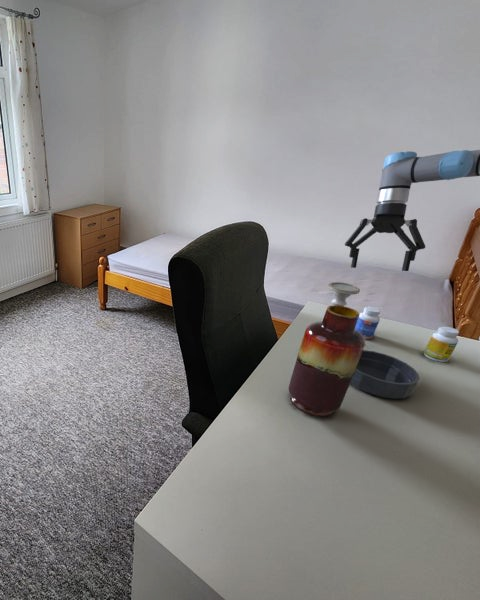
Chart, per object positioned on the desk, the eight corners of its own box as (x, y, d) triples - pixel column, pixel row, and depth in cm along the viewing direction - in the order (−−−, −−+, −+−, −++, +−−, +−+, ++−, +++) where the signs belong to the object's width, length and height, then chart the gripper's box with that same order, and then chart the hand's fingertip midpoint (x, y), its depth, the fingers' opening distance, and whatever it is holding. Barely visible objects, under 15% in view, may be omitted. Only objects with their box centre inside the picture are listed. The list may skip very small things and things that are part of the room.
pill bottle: (356, 338, 111) (366, 311, 107) (349, 330, 116) (358, 304, 112) (376, 340, 110) (386, 313, 106) (367, 331, 115) (377, 306, 111)
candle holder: (303, 337, 113) (320, 280, 104) (332, 338, 111) (352, 281, 103) (315, 351, 105) (335, 291, 96) (347, 353, 103) (369, 293, 95)
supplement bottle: (428, 350, 104) (441, 323, 100) (451, 359, 100) (466, 331, 96) (419, 355, 102) (432, 327, 98) (442, 364, 98) (457, 336, 94)
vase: (347, 423, 78) (388, 325, 67) (294, 417, 80) (326, 320, 69) (325, 392, 88) (358, 301, 77) (279, 387, 90) (305, 298, 79)
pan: (380, 364, 98) (387, 349, 96) (428, 400, 85) (436, 384, 82) (327, 364, 99) (332, 350, 97) (365, 400, 85) (372, 384, 83)
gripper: (436, 205, 108) (422, 271, 111) (341, 205, 118) (330, 266, 121) (449, 202, 101) (434, 272, 104) (347, 202, 111) (335, 266, 115)
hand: (378, 269), depth 113 cm, fingers open, 13 cm apart
